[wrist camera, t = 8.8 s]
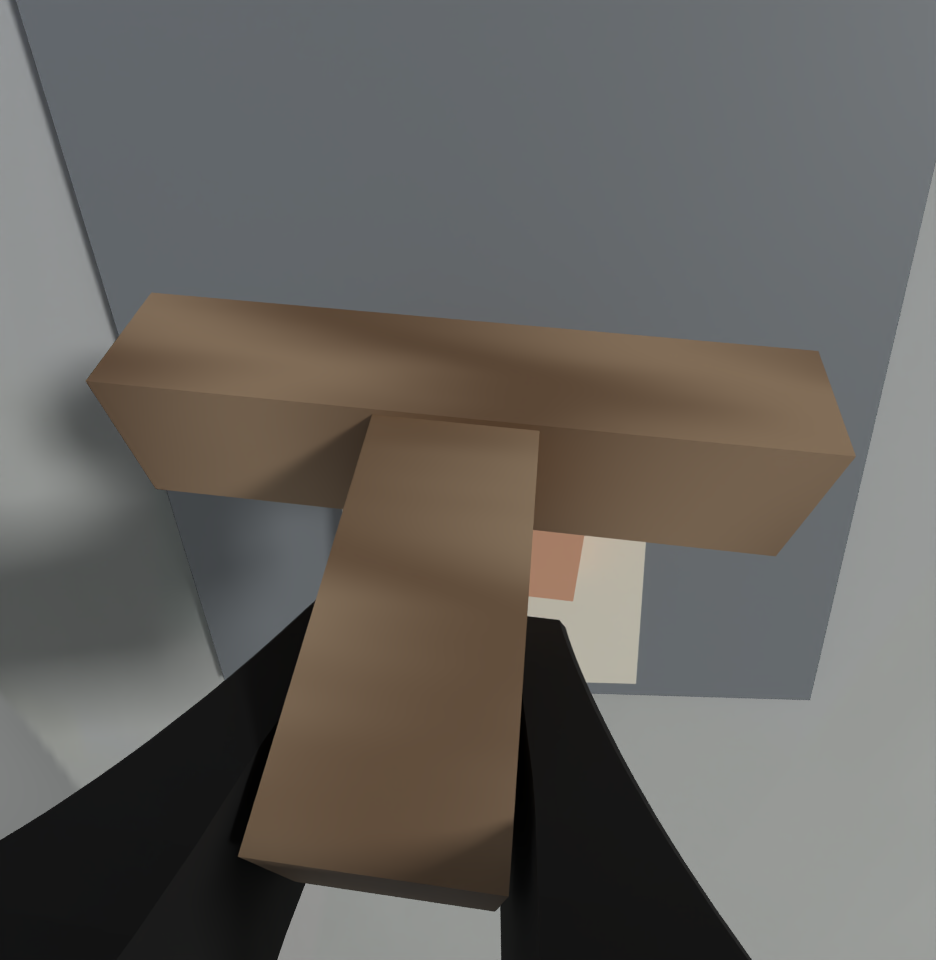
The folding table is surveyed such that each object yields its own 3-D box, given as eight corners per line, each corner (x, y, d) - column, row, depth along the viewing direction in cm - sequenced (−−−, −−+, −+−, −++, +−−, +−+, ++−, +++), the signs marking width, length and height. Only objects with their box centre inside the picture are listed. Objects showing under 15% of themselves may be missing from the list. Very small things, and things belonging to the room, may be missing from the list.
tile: (376, 549, 19) (363, 577, 17) (375, 359, 16) (360, 374, 15) (570, 571, 18) (573, 601, 17) (602, 379, 16) (607, 397, 14)
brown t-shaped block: (202, 403, 11) (-34, 831, 7) (151, 292, 9) (-217, 788, 5) (754, 457, 11) (866, 968, 6) (818, 350, 9) (1039, 973, 4)
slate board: (231, 672, 22) (225, 683, 22) (-2, -107, 13) (-22, -119, 13) (803, 688, 20) (810, 700, 20) (1017, -257, 11) (1039, -278, 10)
